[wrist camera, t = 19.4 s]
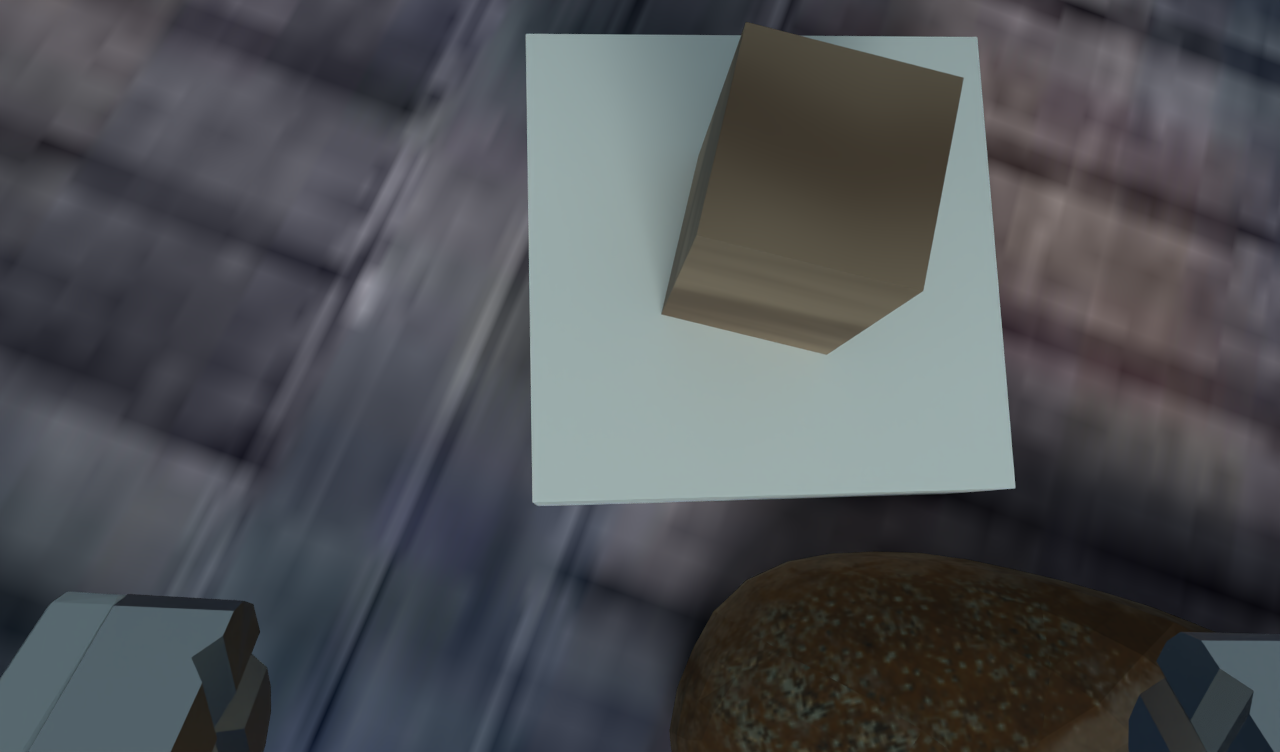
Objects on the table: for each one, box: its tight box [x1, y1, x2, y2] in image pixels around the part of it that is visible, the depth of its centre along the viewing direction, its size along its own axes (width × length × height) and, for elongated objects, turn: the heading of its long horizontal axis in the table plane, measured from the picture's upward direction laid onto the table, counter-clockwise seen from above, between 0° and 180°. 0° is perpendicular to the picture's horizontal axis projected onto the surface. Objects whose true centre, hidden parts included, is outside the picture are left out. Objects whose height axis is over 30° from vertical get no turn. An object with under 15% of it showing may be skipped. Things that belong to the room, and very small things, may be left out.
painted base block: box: [526, 34, 1015, 506], centre depth 32 cm, size 14×14×6 cm
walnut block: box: [661, 22, 964, 355], centre depth 26 cm, size 5×5×8 cm
